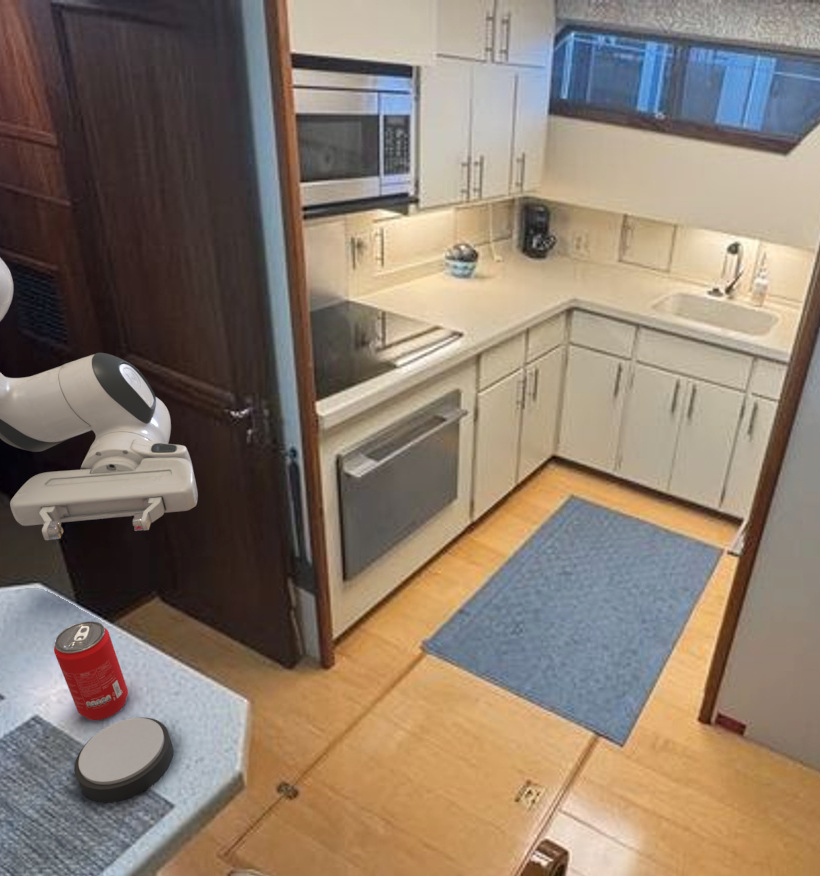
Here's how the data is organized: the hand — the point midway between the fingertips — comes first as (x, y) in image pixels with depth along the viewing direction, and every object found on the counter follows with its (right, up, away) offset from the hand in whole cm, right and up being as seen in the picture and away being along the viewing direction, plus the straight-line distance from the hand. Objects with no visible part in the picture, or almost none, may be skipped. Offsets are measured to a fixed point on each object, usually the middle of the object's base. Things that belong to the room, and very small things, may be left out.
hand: (96, 531), depth 86 cm
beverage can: (+2, -22, -1) cm, 22 cm away
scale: (+9, -26, -7) cm, 28 cm away
